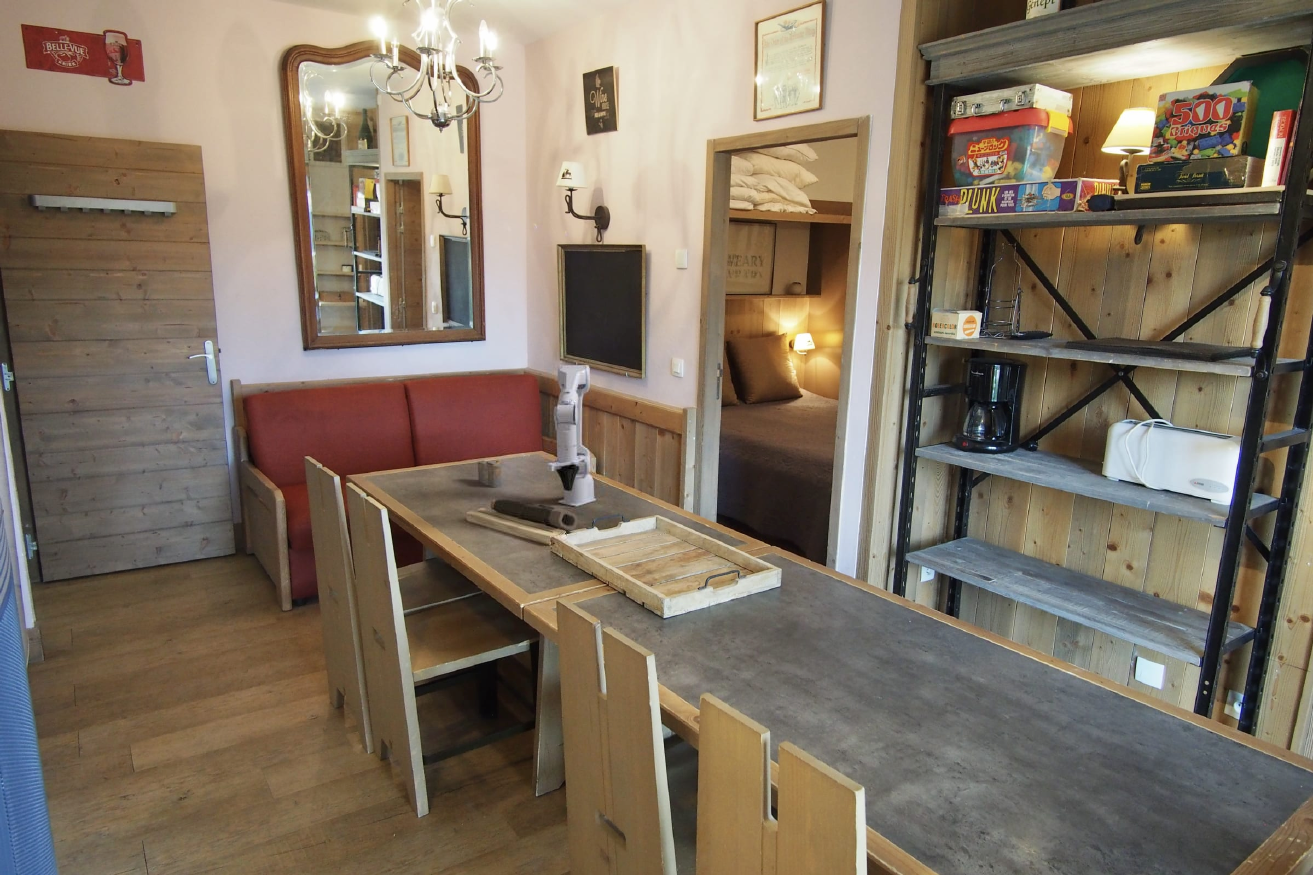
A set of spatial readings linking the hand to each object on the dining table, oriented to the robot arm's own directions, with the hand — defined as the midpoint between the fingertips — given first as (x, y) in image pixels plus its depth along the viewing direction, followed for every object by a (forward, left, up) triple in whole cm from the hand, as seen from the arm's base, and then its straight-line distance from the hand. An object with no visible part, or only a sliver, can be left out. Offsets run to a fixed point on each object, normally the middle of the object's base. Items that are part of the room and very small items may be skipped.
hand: (568, 490), depth 240 cm
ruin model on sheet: (-13, -52, -10) cm, 54 cm away
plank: (+16, -6, -9) cm, 20 cm away
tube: (+6, -5, -8) cm, 12 cm away
